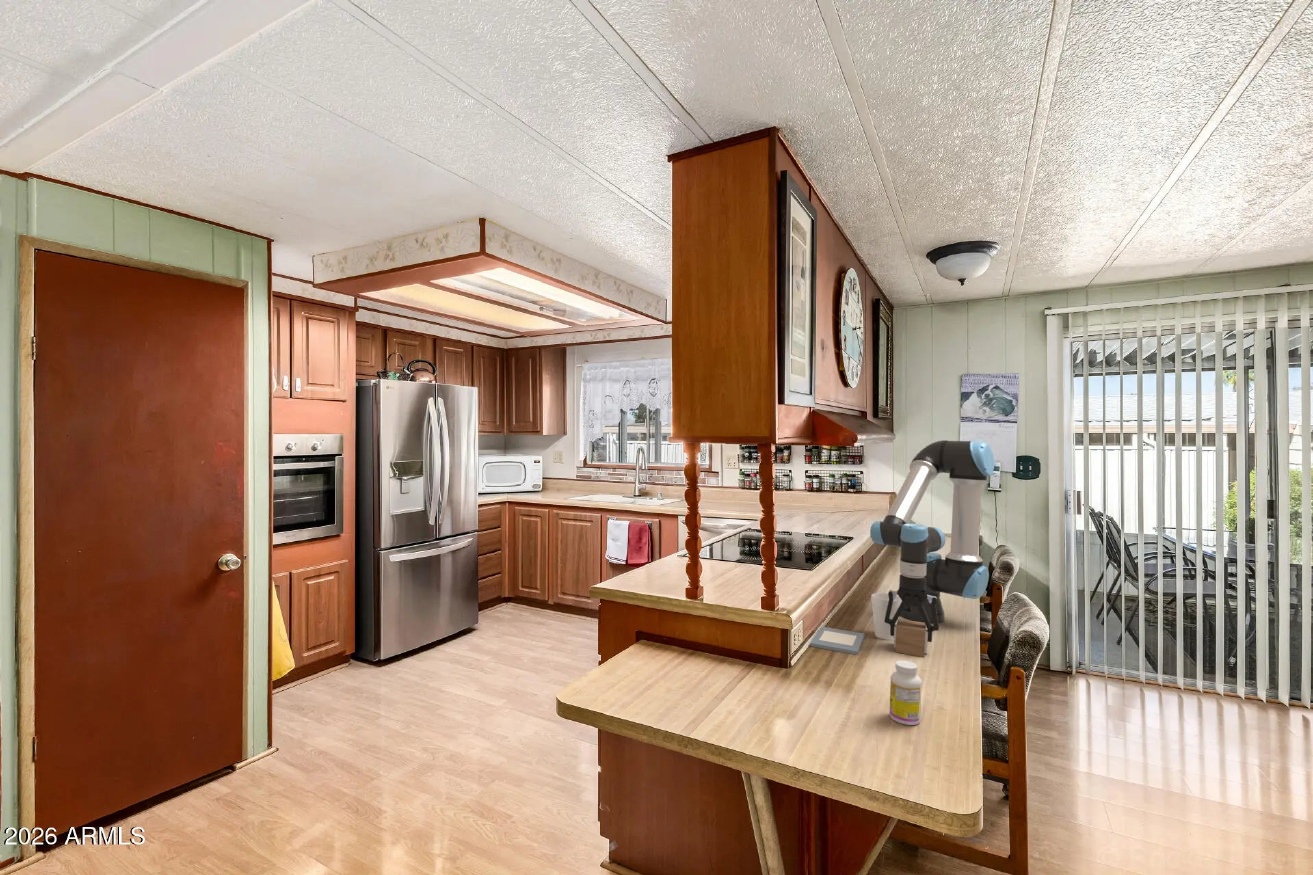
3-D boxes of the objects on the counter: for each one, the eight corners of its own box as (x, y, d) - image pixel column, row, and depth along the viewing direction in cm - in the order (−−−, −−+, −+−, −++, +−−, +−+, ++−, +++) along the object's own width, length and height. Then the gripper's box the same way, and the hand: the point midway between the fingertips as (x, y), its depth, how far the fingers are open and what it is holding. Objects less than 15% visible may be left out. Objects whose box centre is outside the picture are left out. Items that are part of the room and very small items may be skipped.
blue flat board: (820, 629, 200) (820, 625, 200) (864, 636, 194) (864, 633, 194) (810, 646, 184) (810, 642, 184) (857, 654, 178) (857, 650, 178)
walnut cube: (897, 643, 188) (898, 618, 188) (924, 648, 184) (925, 622, 184) (895, 652, 181) (896, 625, 180) (924, 657, 177) (925, 630, 177)
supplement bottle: (894, 709, 143) (896, 656, 142) (923, 718, 138) (925, 663, 138) (885, 719, 137) (887, 664, 137) (915, 729, 133) (917, 672, 133)
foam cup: (863, 633, 197) (865, 594, 197) (884, 630, 201) (885, 591, 201) (885, 642, 189) (887, 602, 189) (907, 639, 193) (908, 599, 192)
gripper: (875, 573, 183) (873, 646, 184) (950, 582, 174) (948, 659, 175) (878, 568, 190) (875, 639, 190) (950, 577, 181) (948, 651, 181)
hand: (910, 648), depth 182 cm, fingers closed on walnut cube, 8 cm apart
